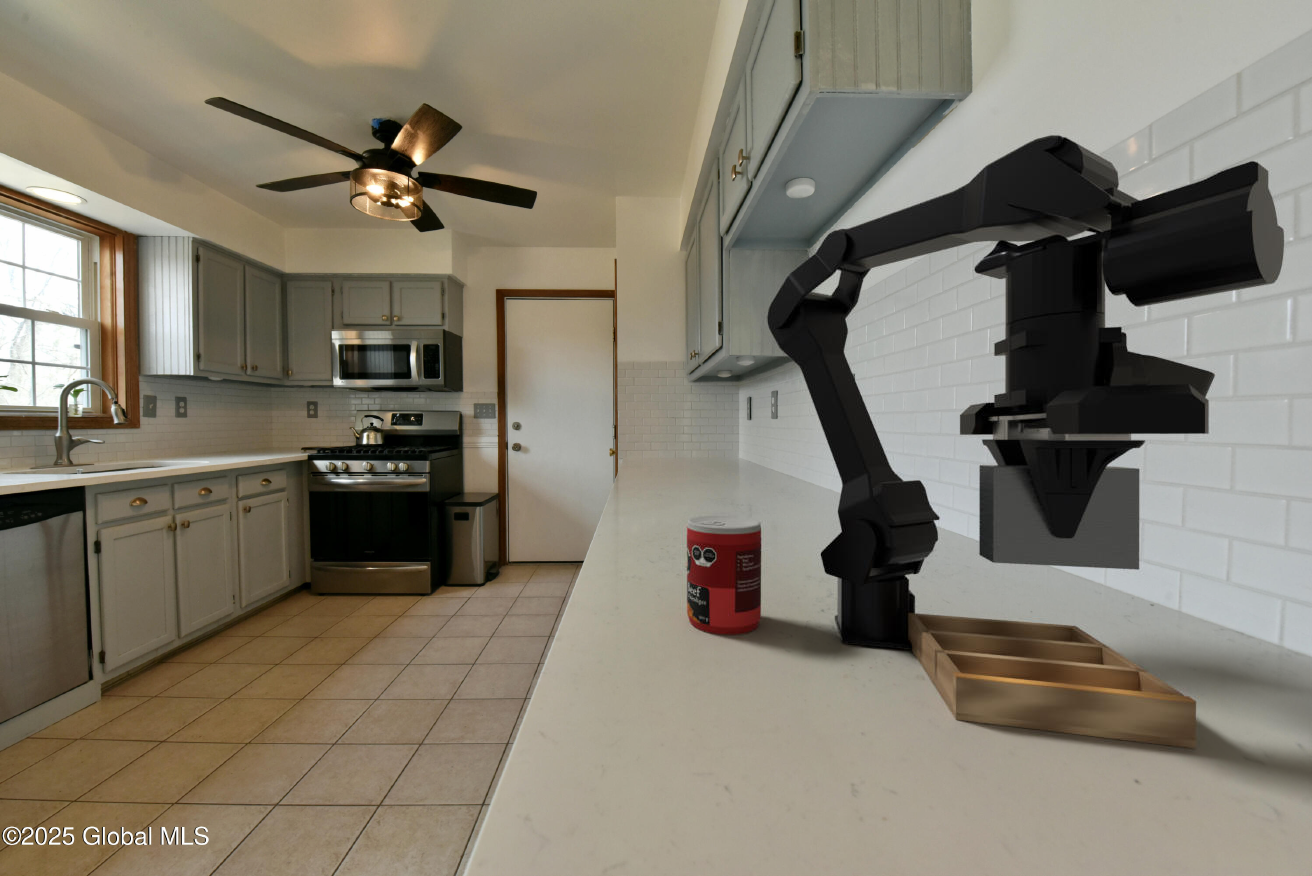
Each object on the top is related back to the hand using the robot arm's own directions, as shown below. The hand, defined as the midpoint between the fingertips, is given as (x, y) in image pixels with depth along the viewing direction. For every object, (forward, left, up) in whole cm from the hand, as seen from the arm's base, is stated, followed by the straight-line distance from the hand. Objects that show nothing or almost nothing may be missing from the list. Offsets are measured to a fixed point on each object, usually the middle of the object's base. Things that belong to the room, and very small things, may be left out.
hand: (1052, 534), depth 36 cm
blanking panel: (0, 0, -2) cm, 2 cm away
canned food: (-25, +12, -13) cm, 31 cm away
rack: (0, +4, -13) cm, 14 cm away
